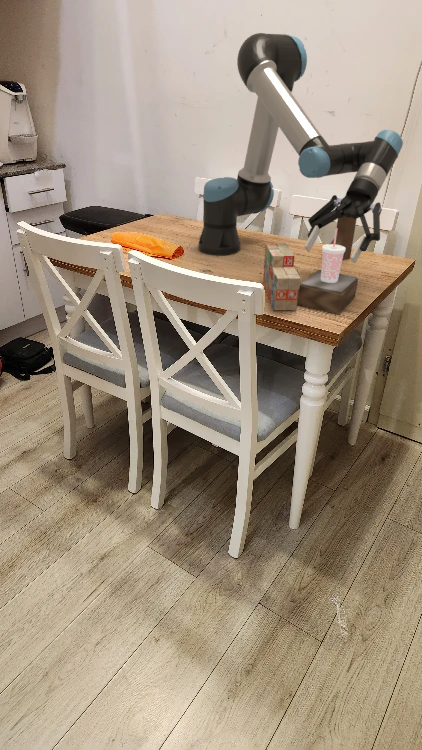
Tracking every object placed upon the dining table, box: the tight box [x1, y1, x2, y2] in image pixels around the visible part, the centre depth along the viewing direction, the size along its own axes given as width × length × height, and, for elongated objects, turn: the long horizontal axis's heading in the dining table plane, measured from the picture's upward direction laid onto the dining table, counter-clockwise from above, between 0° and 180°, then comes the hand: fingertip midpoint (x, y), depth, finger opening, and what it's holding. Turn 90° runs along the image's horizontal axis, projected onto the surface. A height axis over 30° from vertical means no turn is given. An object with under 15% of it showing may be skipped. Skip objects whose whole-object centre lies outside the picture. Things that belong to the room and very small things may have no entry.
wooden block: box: [321, 204, 358, 261], centre depth 162 cm, size 9×4×18 cm, turn 116°
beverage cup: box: [320, 227, 346, 283], centre depth 129 cm, size 6×6×14 cm
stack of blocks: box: [262, 242, 301, 311], centre depth 135 cm, size 21×6×12 cm, turn 3°
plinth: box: [297, 269, 359, 315], centre depth 134 cm, size 12×14×6 cm
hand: (329, 254), depth 127 cm, fingers open, 13 cm apart
